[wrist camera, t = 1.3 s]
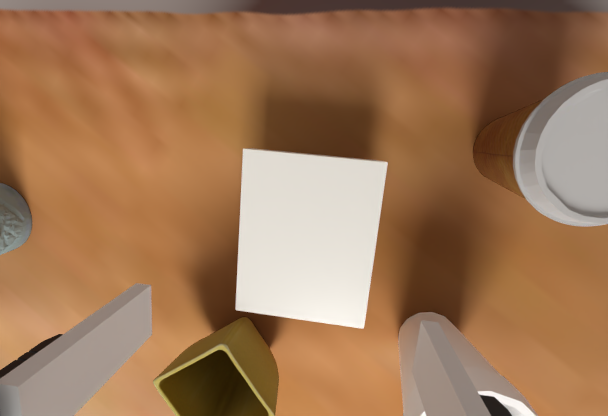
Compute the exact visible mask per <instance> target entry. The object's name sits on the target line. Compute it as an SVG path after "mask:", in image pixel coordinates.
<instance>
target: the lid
mask: <svg viewBox="0 0 608 416" xmlns="http://www.w3.org/2000/svg"><path fill="white" fill-rule="evenodd" d="M387 164H388V162H385V161H379V160H369V159H358V158H348V157H337V156H327V155H316V154H306V153H295V152H285V151H274V150H264V149H253V148H247V149H243V162H242V183H241V204H240V225H239V246H238V266H237V287H236V308H235V310H238V311H245V312H252V313H259V314H266V315H273V316H279V317H286V318H293V319H300V320H307V321H314V322H321V323H328V324H335V325H341V326H348V327H355V328H362V329H364V324H365V317H366V310H367V303H368V296H369V289H370V282H371V275H372V268H373V261H374V254H375V247H376V240H377V233H378V227H379V220H380V213H381V206H382V199H383V192H384V185H385V178H386V171H387Z"/></svg>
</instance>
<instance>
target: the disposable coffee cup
mask: <svg viewBox="0 0 608 416" xmlns="http://www.w3.org/2000/svg"><path fill="white" fill-rule="evenodd" d="M473 157H474V162H475V165H476V167H477V169H478V170H479V171H480V173H481V174H482V175H484V176H485V177H486V178H488V179H490V180H492V181H494V182H496V183H498V184H499V185H501V186H503V187H505V188H507V189H508V190H510V191H512V192H514V193H516V194H518V195H519V196H521V197H523V198H525V199H526V200H527V201H528V202H529V203H530V204H531V205H532V206H533V207H534V208H535V209H536V210H537V211H539V212H540V213H542V214H543V215H545V216H547V217H549V218H550V219H553V220H555V221H557V222H561V223H564V224H568V225H573V226H585V227H586V226H599V225H604V224H608V72H603V73H596V74H592V75H588V76H584V77H581V78H578V79H576V80H574V81H571V82H569V83H567V84H565V85H563V86H561V87H560V88H558V89H557V90H556V91H554V92H553V93H552V94H550V95H549V96H548V97H546V98H545V99H543V100H541V101H539V102H536V103H534V104H532V105H529V106H527V107H525V108H523V109H520V110H518V111H515V112H513V113H511V114H508V115H506V116H504V117H502V118H499V119H497V120H494V121H492V122H491V123H490V124H488V125H487V126H486V127H485V128H484V129H483V130H482V131H481V132H480V134H479V136H478V137H477V139H476V141H475V144H474V149H473Z"/></svg>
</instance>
